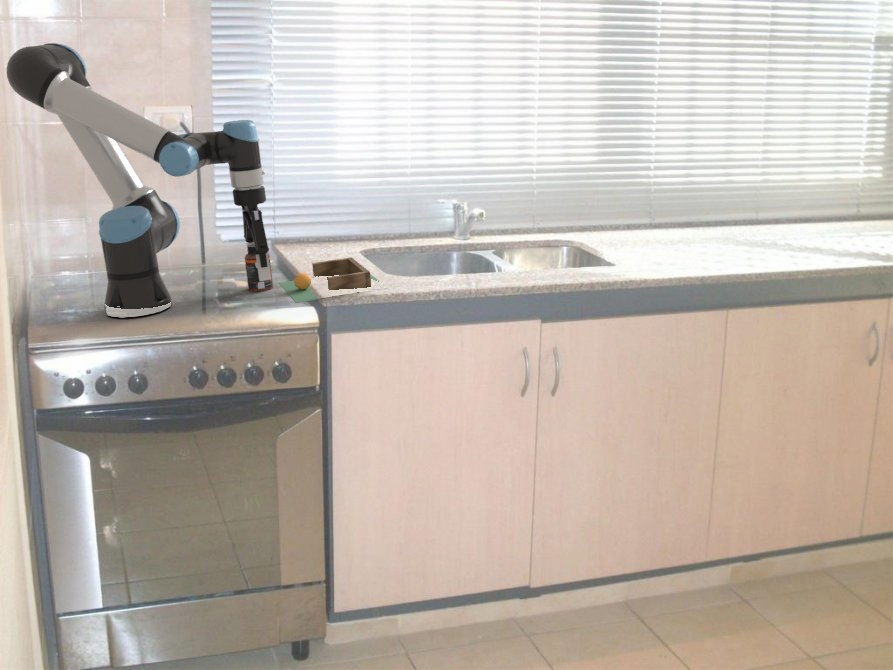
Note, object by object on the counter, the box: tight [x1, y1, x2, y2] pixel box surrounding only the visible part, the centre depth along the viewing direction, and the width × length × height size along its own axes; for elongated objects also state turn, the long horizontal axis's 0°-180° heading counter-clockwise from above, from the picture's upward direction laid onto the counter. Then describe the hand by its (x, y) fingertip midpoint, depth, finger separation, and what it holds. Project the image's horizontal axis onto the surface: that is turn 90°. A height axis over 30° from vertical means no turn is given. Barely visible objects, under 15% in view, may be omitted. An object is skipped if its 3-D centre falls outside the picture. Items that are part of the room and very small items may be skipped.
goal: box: [311, 256, 371, 290], centre depth 269 cm, size 10×18×4 cm, turn 19°
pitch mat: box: [279, 273, 380, 304], centre depth 268 cm, size 22×21×1 cm
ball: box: [293, 272, 311, 290], centre depth 266 cm, size 4×4×4 cm
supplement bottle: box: [244, 244, 274, 293], centre depth 269 cm, size 6×6×11 cm
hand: (260, 274), depth 269 cm, fingers open, 13 cm apart
